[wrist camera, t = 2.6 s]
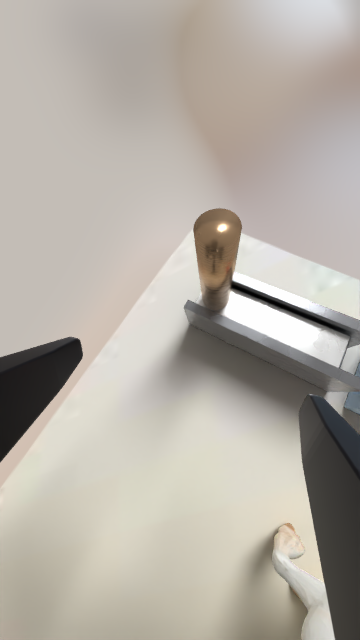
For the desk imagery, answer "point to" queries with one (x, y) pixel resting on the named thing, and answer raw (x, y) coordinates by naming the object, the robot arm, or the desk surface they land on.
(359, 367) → the light blue block
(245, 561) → the desk surface
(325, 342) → the panel with brass knob
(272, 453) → the desk surface
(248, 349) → the sleeve
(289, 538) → the unicorn figurine
